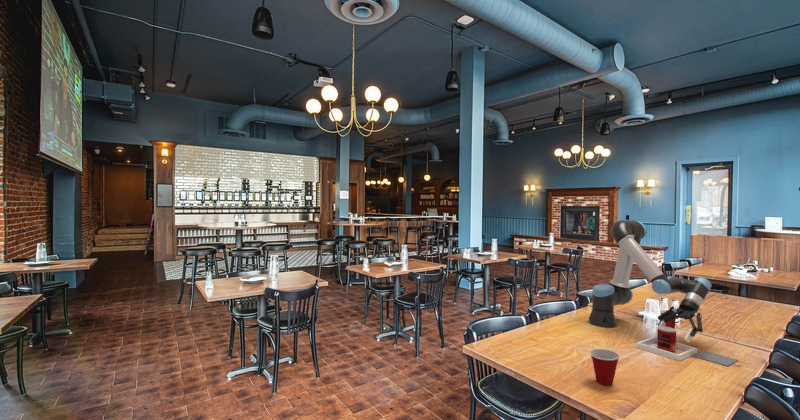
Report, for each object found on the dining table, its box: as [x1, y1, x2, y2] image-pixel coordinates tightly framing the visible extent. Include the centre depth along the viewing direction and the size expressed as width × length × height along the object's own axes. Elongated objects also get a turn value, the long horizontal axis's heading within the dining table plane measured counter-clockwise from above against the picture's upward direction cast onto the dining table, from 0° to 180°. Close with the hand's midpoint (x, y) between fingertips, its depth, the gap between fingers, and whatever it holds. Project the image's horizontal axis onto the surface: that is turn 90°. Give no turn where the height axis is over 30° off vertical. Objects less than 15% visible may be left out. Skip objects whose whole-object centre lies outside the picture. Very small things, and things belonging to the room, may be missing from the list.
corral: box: [636, 336, 698, 362], centre depth 188 cm, size 19×19×2 cm
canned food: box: [656, 326, 677, 354], centre depth 188 cm, size 8×8×11 cm
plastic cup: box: [589, 348, 621, 387], centre depth 151 cm, size 11×11×12 cm
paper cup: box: [660, 308, 677, 330], centre depth 212 cm, size 8×8×14 cm
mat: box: [692, 350, 739, 368], centre depth 178 cm, size 13×13×1 cm
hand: (671, 336), depth 187 cm, fingers open, 13 cm apart
